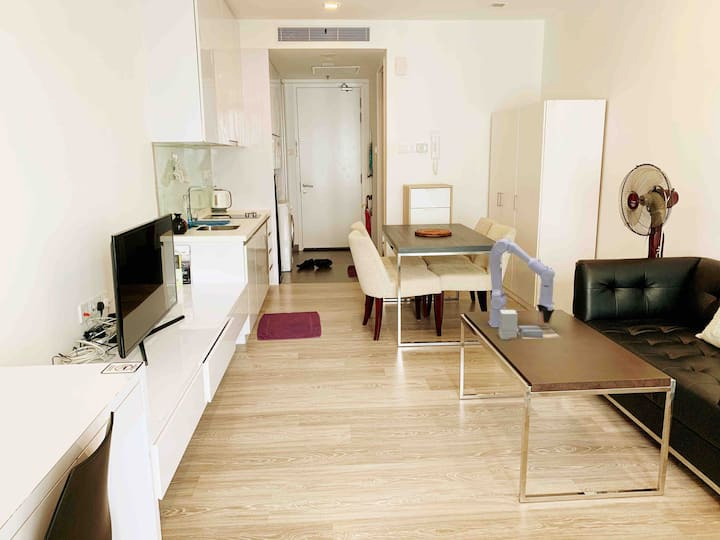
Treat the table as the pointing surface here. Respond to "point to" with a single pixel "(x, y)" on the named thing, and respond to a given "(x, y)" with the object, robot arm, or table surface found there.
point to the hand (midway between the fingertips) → (544, 320)
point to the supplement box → (508, 324)
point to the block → (541, 319)
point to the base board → (546, 334)
